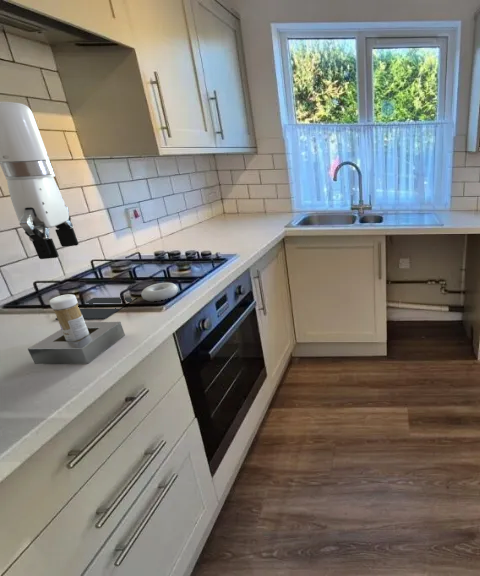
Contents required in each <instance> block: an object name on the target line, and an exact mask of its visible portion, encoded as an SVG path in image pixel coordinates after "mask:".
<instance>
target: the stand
mask: <svg viewBox="0 0 480 576" xmlns="http://www.w3.org/2000/svg"><path fill="white" fill-rule="evenodd" d="M85 324H86V326H87V329H88V331H89V335H88V336H87V337H85V338H84V339H82V340H81V341H66V339H65V337H64V334H63V332H62V329H61V328H60V329H59V330H57V331H55V332H54V333H52V334H50V335H48V336H47V337H45V338H44V339H42V340H40V341H38V342H36V343H35V344H33V345H32V346H30V347H28V348H27V351H28V353H29V355H30V357H31V359H32V361H33V363H34V365H88V364H90V363H91V362H92V361H94V360H95V359H97V358H98V357H99V356H100V355H102V354H103V353H104V352H106V351H107V350H108V349H109V348H111V347H112V346H113V345H115V344H116V343H118V342H119V341H120V340H122V339H123V338H124V337H125V336H126V334H125V331H124V328H123V324H122V322H121V321H85Z"/></svg>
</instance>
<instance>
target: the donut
mask: <svg viewBox="0 0 480 576" xmlns="http://www.w3.org/2000/svg"><path fill="white" fill-rule="evenodd" d="M178 292H179V287H178V285H177V284H175V283H173V282H158V283H154V284H151V285H148V286H147V287H145V288H143V290H142V291H141V294H140V295H141V298H142V300H144V301H147V302H151V303H153V302H154V301H157V302H162V301H161V300H163V301H166V300H169V299H171V298H173V297H175V296H176V295H177V294H178ZM168 298H169V299H168ZM165 299H166V300H165Z"/></svg>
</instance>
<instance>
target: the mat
mask: <svg viewBox="0 0 480 576" xmlns="http://www.w3.org/2000/svg"><path fill="white" fill-rule="evenodd" d="M120 297H121V296H120ZM120 297H116V296H115V297H92V298H91V299H89V300H86V301H85V302H86V303H89V304H93V303H121V299H120ZM131 297H132V296H125V300H126V301H127V302H131V301H132V299H131ZM131 303H132V302H131ZM119 311H120V310H119V309H116V308H115V309H80V312H81V314H82V316H83V318H84V321H86V320H87V321H89V320H90V321H91V320H92V321H93V320H107V319H108V318H109V317H111V316H112V315H114V314H116V313H117V312H119ZM55 321H58V319H57V317H56V318H55Z"/></svg>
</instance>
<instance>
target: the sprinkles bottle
mask: <svg viewBox="0 0 480 576" xmlns="http://www.w3.org/2000/svg"><path fill="white" fill-rule="evenodd" d="M49 306H50V308H51V309H52V310H53V312H54V314H55V316H56V318H57V319H58V320H57V321H58V324H59V326H60V330H61V329H62V332H63V334H64V337H65V339H66V341H81V340H82V339H84V338H85V337H87V336H88V335H89V331H88V329H87V326H86V324H85V322H86V320H84V318H83V316H82V314H81V312H80V309H79V307H78V306H79V303H78V299H77V296H76V295H75V294H68V293H67V294H62V295H58V296H55V297H53V298H51V299H50V300H49Z"/></svg>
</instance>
